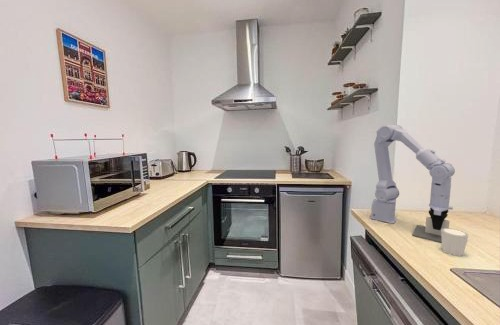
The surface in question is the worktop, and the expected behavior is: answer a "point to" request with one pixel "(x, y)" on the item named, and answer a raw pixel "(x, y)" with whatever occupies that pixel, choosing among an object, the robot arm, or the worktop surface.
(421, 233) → the plate
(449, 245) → the white short cylinder
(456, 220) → the worktop surface
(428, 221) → the tile
